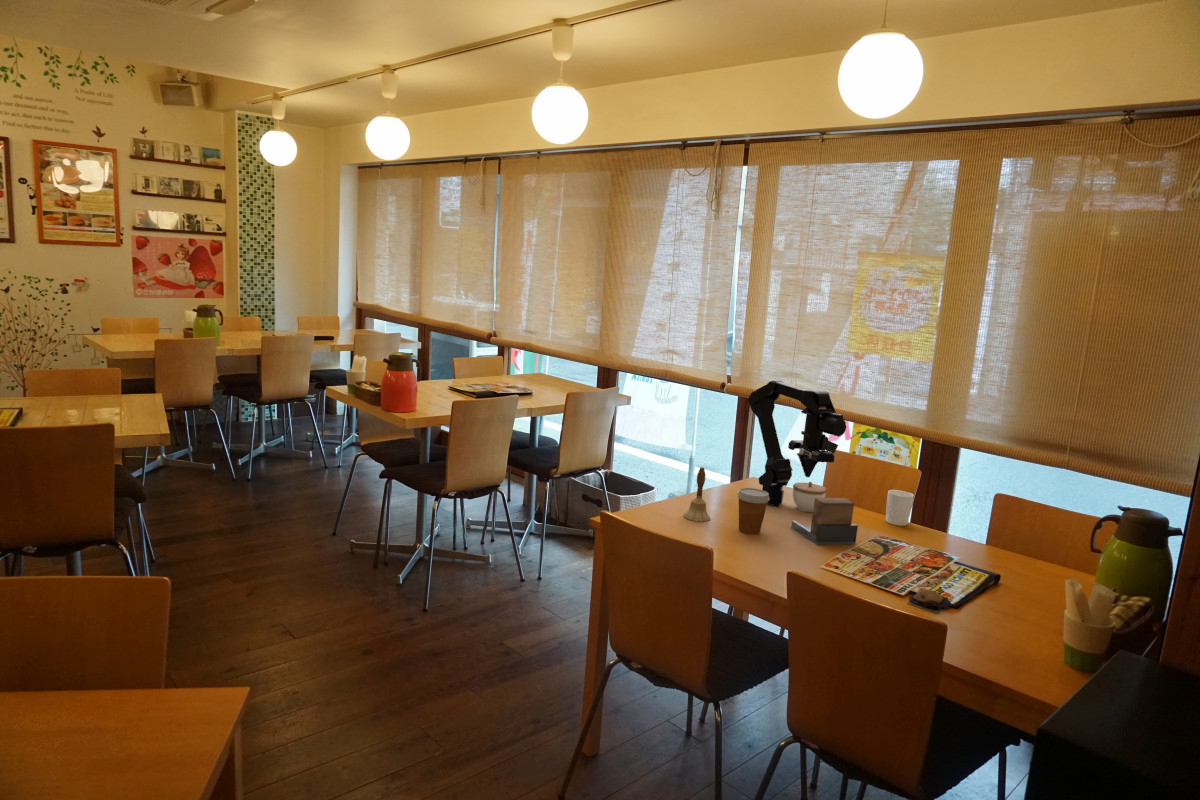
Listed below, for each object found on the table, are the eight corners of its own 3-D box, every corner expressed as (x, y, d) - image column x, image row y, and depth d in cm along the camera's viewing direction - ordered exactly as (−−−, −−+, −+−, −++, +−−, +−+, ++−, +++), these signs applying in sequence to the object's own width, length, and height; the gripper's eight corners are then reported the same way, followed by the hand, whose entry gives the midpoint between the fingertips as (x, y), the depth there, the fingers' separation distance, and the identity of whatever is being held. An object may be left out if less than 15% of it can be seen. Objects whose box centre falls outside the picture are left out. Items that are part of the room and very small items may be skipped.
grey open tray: (791, 527, 235) (793, 509, 234) (827, 527, 238) (829, 509, 237) (817, 544, 220) (820, 525, 219) (855, 544, 224) (857, 525, 223)
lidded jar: (799, 513, 250) (803, 486, 248) (785, 503, 260) (788, 477, 259) (829, 514, 252) (833, 487, 251) (813, 504, 262) (817, 478, 261)
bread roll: (937, 617, 178) (940, 603, 178) (902, 604, 184) (905, 590, 183) (955, 606, 186) (958, 592, 185) (921, 594, 191) (923, 580, 191)
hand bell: (712, 522, 233) (718, 472, 230) (685, 521, 232) (691, 470, 230) (707, 514, 241) (712, 465, 238) (681, 512, 240) (686, 463, 238)
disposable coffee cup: (730, 532, 225) (735, 493, 223) (736, 523, 234) (740, 485, 232) (762, 538, 222) (767, 498, 220) (767, 529, 231) (772, 491, 229)
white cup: (912, 527, 246) (917, 497, 244) (888, 525, 246) (893, 495, 244) (903, 519, 253) (908, 490, 252) (880, 517, 254) (884, 488, 252)
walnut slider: (810, 533, 227) (814, 497, 225) (839, 533, 229) (844, 498, 228) (819, 539, 222) (824, 503, 220) (848, 539, 225) (854, 503, 223)
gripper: (852, 436, 237) (845, 485, 239) (820, 424, 254) (814, 469, 257) (821, 435, 234) (814, 485, 236) (790, 423, 251) (784, 469, 254)
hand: (807, 477), depth 246 cm, fingers closed
